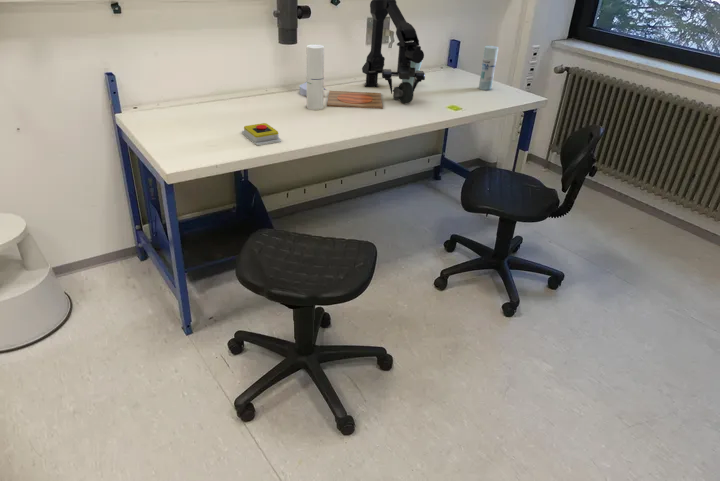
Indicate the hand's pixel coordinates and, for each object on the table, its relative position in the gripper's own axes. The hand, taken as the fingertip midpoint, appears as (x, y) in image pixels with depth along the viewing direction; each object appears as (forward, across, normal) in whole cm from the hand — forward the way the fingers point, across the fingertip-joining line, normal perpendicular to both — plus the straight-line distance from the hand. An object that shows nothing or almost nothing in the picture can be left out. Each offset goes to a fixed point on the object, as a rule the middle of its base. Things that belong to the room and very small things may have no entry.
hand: (401, 93), depth 241 cm
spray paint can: (+3, +44, +28) cm, 52 cm away
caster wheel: (+3, 0, 0) cm, 3 cm away
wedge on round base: (+3, -41, +4) cm, 41 cm away
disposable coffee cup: (+3, +6, +27) cm, 28 cm away
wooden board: (+3, -21, -2) cm, 21 cm away
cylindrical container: (+3, -38, -15) cm, 41 cm away
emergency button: (+3, -55, -54) cm, 77 cm away
